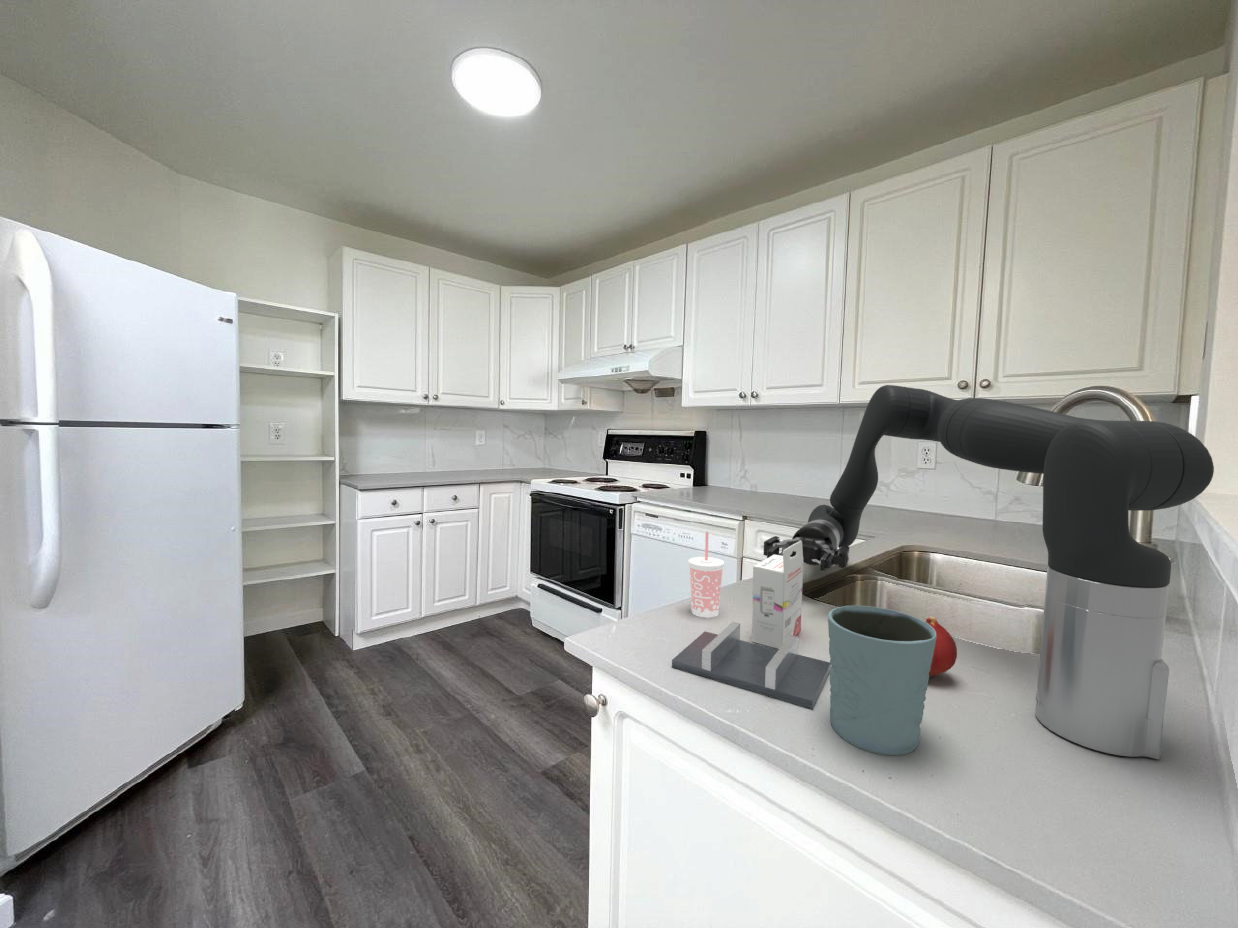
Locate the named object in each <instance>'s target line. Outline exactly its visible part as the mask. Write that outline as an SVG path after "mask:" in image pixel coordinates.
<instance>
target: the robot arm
mask: <svg viewBox="0 0 1238 928" xmlns="http://www.w3.org/2000/svg"><path fill="white" fill-rule="evenodd" d="M883 436H888V437H893V438H899V439H900V438H901V439H907V440H923V441H932V442H938V443H940V444H941V446H942V447H943V448H944V449H945V450H946V451H947V452H948V453H950V454H952V456H953V455H954V456H955V457H958V458H960V459H961V460H965V461H968V462H971V463H974V464H977V465H981V466H984V467H988V468H993V469H998V470H999V469H1000V470H1005V471H1011V472H1022V473H1029V474H1030V473H1032V474H1039V475H1040V474H1041V475H1043V477H1042V478H1043V479H1042V536H1043V539H1044V543H1045V546H1046V549H1047V555H1048V556H1047V570H1046V578H1045V579H1046V580H1045V594H1044V605H1043V614H1042V615H1043V616H1042V627H1041V638H1040V640H1041V641H1040V649H1039V651H1040V652H1039V663H1038V664H1039V665H1038V675H1037V687H1036V695H1035V716H1036V718H1037V720H1038V721H1039V723H1041V724H1042V725H1043V726H1045V727H1046V728H1047V729H1048V730H1049V731H1051V732H1053V733H1055V734H1056V735H1058V736H1060V737H1062V738H1064V739H1066V740H1067V741H1070V742H1072V743H1075V744H1077V745H1080V746H1082V747H1085V748H1088V749H1091V750H1094V751H1097V752H1101V753H1105V754H1111V755H1116V756H1120V757H1121V756H1122V757H1130V758H1131V757H1146V758H1150V759H1151V758H1152V759H1155V760H1160V757H1161V751H1162V750H1161V749H1162V740H1163V731H1164V722H1165V721H1164V720H1165V712H1166V705H1167V704H1166V702H1167V696H1168V695H1167V693H1168V684H1169V676H1170V675H1169V674H1170V667H1169V665H1168V663H1166V662H1165V661H1164V659H1163V657H1162V656H1163V647H1164V646H1163V645H1164V638H1165V630H1166V629H1165V626H1166V621H1167V620H1166V619H1167V618H1166V617H1167V611H1168V610H1167V609H1168V599H1169V592H1170V590H1169V589H1170V582H1171V573H1172V563H1171V560H1170V558H1169V557H1168V555H1166V554H1165V553H1164V552H1162V551H1160V550H1158V549H1155V548H1153V547H1150V546H1147V545H1144V544H1143V543H1139V542H1138V541H1137V540H1136V539H1134V537H1133V536H1132V535H1131V532H1130V526H1129V523H1130V521H1129V511H1138V512H1139V511H1140V512H1141V511H1142V512H1143V511H1158V510H1163V509H1164V510H1165V509H1170V508H1174V507H1177V506H1181V505H1184V504H1185V503H1188V502H1190V501H1192V500H1194V499H1195V498H1197V497H1198V496H1200V495H1201V494H1202V493H1204V491H1205V490H1206V489H1207V488H1208V486H1210V484H1211V482H1212V479H1213V477H1214V473H1215V467H1214V462H1213V457H1212V456H1211V453H1210V452H1209V450H1208V448H1207V447H1206V446H1205V445H1204V444H1203V442H1202V441H1201V440H1199V438H1198V437H1196V436H1195V435H1194V434H1192V433H1191V432H1190V431H1188V430H1185V429H1184V428H1181V427H1179V426H1177V425H1173V424H1171V423H1167V422H1164V421H1163V422H1161V421H1157V420H1156V421H1155V420H1105V419H1104V420H1102V419H1092V418H1084V417H1077V416H1073V415H1069V414H1064V413H1060V412H1056V411H1051V410H1048V409H1044V408H1038V407H1034V406H1029V405H1025V404H1021V403H1020V404H1019V403H1014V402H1011V401H1006V400H1005V401H1004V400H1000V399H999V400H998V399H993V398H992V399H991V398H985V397H984V398H982V397H967V398H963V399H959V400H957V399H953V398H950V397H947V396H944V395H941V394H939V393H937V392H933V391H931V390H928V389H922V388H916V387H910V386H909V387H908V386H902V385H895V384H894V385H892V384H885V385H882V386H880V387H879V388H877V389H876V390H875V391H874V393H873V394H872V396H871V397H870V399H869V401H868V404H867V406H866V408H865V411H864V414H863V416H862V419H861V421H860V425H859V427H858V431H857V434H856V436H855V440H854V442H853V446H852V449H851V453H850V455H849V458H848V460H847V463H846V465H845V468H844V470H843V471H842V474H841V475H840V477H839V480H838V481H837V483H836V485H835V487H834V489H833V490H832V492H831V494H830V497H829V503H830V505H831V506H830V505H827V504H819V505H818V506H816V507H815V508H814V509H813V510H812V511H811V512H810V514H809V516H808V520H807V523H805V524H804V525H803V526H802V527H800V528H798V530H797V531H796V532H795V533H794V535H792V538H791V539H790V538H789V539H783V540H782V541H781V539H780V537H779V536H776V535H775V536H772V537H770V538H768V539H766V540H765V541H763V556H765V557H766V559H767V558H769V557H771V556H772V555H780V556H783V550H785V549H787V548H788V547H790V546H791V545H793V544H795V543H797V542H799V541H800V540H801V541H802V549H803V564H806V565H811V566H820V567H819V570H820V571H823V572H825V571H826V570H830V569H831V568H834V567H835V565H838V567H839V568H841V569H847V566H848V564H849V561H850V546H851V545H853V543H855V541H856V539H857V537H858V533H859V529H860V524H861V523H860V522H861V518H862V514H863V512H864V510H865V508H866V506H867V505H868V503H869V502H870V499H872V497H873V495H874V493H875V491H876V489H877V486H878V484H879V471H878V466H877V461H876V448H877V445H878V443H879V442H880V440H881V439H882V438H883ZM780 549H781V551H780ZM795 555H796V551H795V552H794V551H793V552H792V554H791V555H790V557H794V556H795Z"/></svg>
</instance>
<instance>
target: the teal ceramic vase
mask: <svg viewBox="0 0 1238 928" xmlns="http://www.w3.org/2000/svg"><path fill="white" fill-rule="evenodd" d="M827 624H828V627H827V628H828V638H829V642H828V653H829V659H830V660H829V662H830V663H831V668H830V673H829V685H830V688H829V691H830V695H829V698H830V699H829V700H830V704H829V705H830V706H829V716H830V717H829V718H830V719H829V720H830V724H831V727H832V728H833V730H834V732H836V734H837V735H838V736H840V737H841V738H842V739H843V740H844V741H845V742H848V743H849V744H851V745H852V746H855V747H856V748H859V749H861V750H865V751H867V752H869V753H874V754H878V755H883V756H904V755H907V754H910V753H912V752H914V751H915V750H916V748H918V745H919V743H920V737H921V724H922V722H923V717H924V710H925V703H924V702H925V701H926V700H927V699H926V698H927V697H926V694H927V691H928V687H929V686H928V683H929V680H930V677H929V672H930V668H931V663H932V658H933V653H934V648H935V643H936V638H937V635H936V631H935V630H934V628H933V627H932V626H930V625H929V624H928V623H926V621H924V620H922V619H920V618H917V617H916V616H913V615H911V614H907V613H904V612H901V611H897V610H894V609H889V608H884V607H879V606H878V607H877V606H869V605H844V606H838V607H835V608H833V609H831V610H830V611H829V612H828V614H827Z"/></svg>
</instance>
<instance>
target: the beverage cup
mask: <svg viewBox="0 0 1238 928" xmlns="http://www.w3.org/2000/svg"><path fill="white" fill-rule="evenodd" d="M704 539H705V540H704V542H705V544H704V545H705V546H704V547H705V548H704V556H694V557H691V558H689V559H688V560H687V562H688V565H687V566H688V567H689V580H690V606H691V613H692V615H694V616H695V617H696V616H697V617H700V618H705V619H706V618H709V619H710V618H715V617H717V616H719V615H720V613H719V612H720V611H719V610H720V602H721V593H722V592H721V589H722V581H723V580H722V579H723V570H724V568H725V561H724V560H723V559H720V558H717V557H711V556H709V532H708V531H706V532H705V538H704Z"/></svg>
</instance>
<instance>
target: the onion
mask: <svg viewBox="0 0 1238 928" xmlns="http://www.w3.org/2000/svg"><path fill="white" fill-rule="evenodd" d="M925 622H926V623H928V624H929V625H930V626H932V627H933V628H934V630H935V631H936V635H937V638H936V643H935V648H934V653H933V658H932V663H931V668H930V672H929V678H932V677H935V676H938V675H941V674H944V673H946V672H948V671H950V670H951V669H952V667H954V665H955V664H956V661H957V658H958V648H957V643H956V641H955V639H954V638H953V636H952V635H951V634H950V633H949V632H948V630H947V629H946V628H945V627H944V626H942V625H941V624H940V623H939V622H938V620H937V618H936V617H934V616H928V617H927V618H926V619H925Z"/></svg>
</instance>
